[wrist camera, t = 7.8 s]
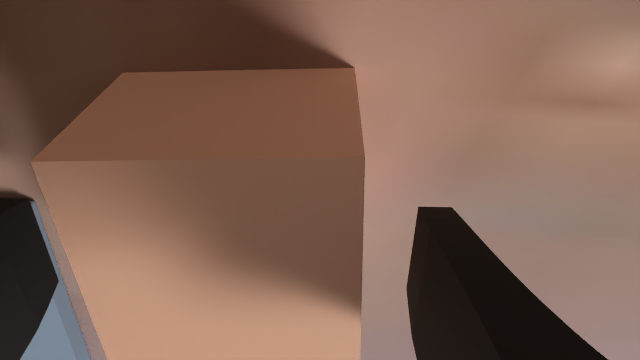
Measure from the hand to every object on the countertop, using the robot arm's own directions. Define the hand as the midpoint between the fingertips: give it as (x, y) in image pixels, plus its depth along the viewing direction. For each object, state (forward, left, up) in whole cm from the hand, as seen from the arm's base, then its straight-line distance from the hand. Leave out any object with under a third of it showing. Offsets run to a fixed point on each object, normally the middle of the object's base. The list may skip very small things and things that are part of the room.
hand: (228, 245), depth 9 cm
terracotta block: (0, 0, -3) cm, 3 cm away
